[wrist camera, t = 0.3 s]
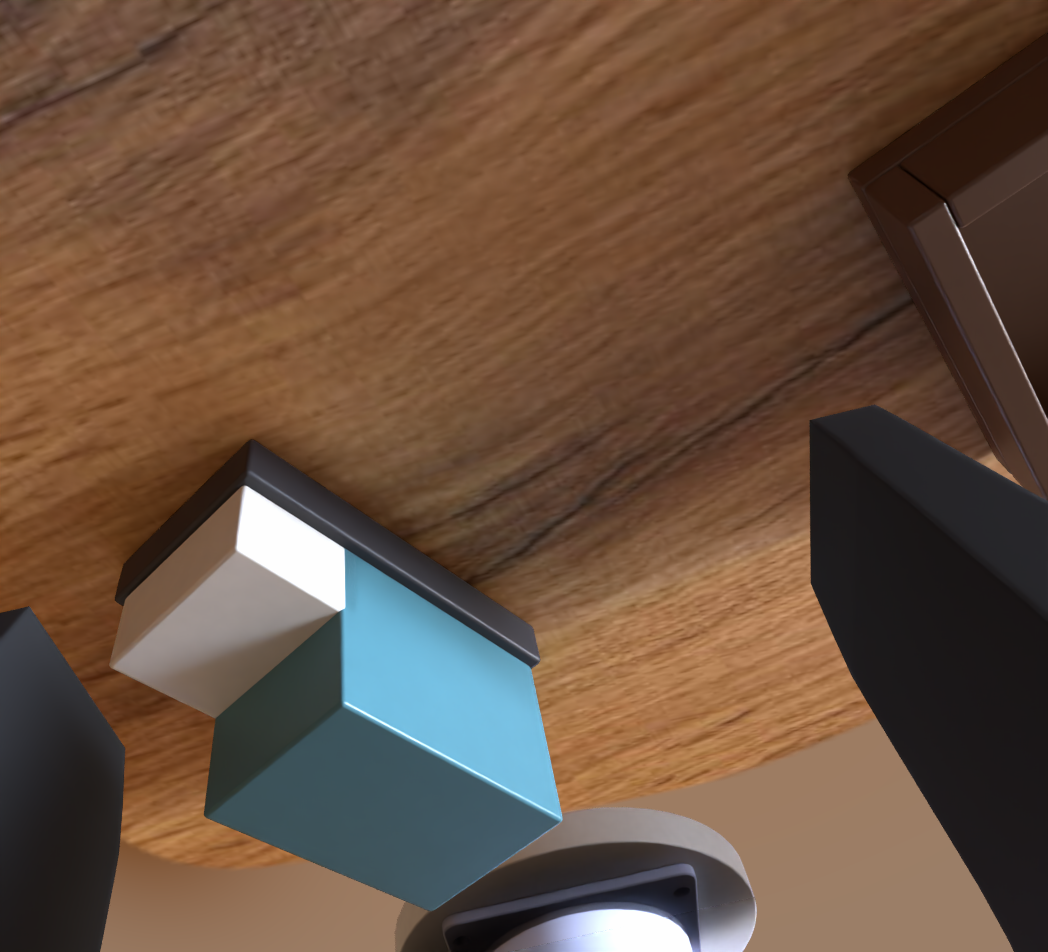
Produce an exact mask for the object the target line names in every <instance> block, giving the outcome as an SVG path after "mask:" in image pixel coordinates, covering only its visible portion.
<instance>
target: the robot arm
mask: <svg viewBox="0 0 1048 952" xmlns="http://www.w3.org/2000/svg"><path fill="white" fill-rule="evenodd" d="M810 546H811V585H812V587H813V590H814V592H815V594H816V597H817V599H818V601H819V604H820V606H821V608H822V610H823V613H824V615H825V617H826V620H827V622H828V624H829V627H830V629H831V631H832V634H833V636H834V638H835V640H836V642H837V645H838V647H839V649H840V651H841V653H842V656H843V658H844V660H845V662H846V664H847V667H848V669H849V671H850V673H851V675H852V677H853V679H854V680H855V682H856V684H857V686H858V687H859V689H860V691H861V692H862V694H863V696H864V698H865V699H866V701H867V703H868V704H869V706H870V708H871V709H872V711H873V713H874V714H875V716H876V718H877V719H878V721H879V723H880V724H881V726H882V727H883V729H884V731H885V733H886V734H887V736H888V738H889V739H890V741H891V742H892V744H893V746H894V748H895V749H896V751H897V752H898V754H899V756H900V757H901V759H902V761H903V762H904V764H905V766H906V767H907V769H908V771H909V772H910V774H911V776H912V777H913V779H914V780H915V782H916V784H917V786H918V787H919V789H920V790H921V792H922V794H923V795H924V797H925V799H926V800H927V802H928V804H929V805H930V807H931V809H932V810H933V812H934V813H935V815H936V817H937V818H938V820H939V821H940V823H941V825H942V827H943V828H944V830H945V831H946V833H947V835H948V837H949V838H950V840H951V841H952V843H953V845H954V846H955V848H956V850H957V851H958V853H959V854H960V856H961V858H962V859H963V861H964V863H965V865H966V866H967V868H968V869H969V871H970V873H971V874H972V876H973V878H974V879H975V881H976V883H977V884H978V886H979V888H980V890H981V891H982V893H983V895H984V897H985V898H986V900H987V902H988V904H989V906H990V908H991V909H992V911H993V913H994V915H995V917H996V918H997V920H998V922H999V924H1000V926H1001V927H1002V929H1003V931H1004V933H1005V935H1006V936H1007V938H1008V940H1009V942H1010V944H1011V947H1012V949H1013V951H1014V952H1048V501H1047V500H1045V499H1043V498H1041V497H1039V496H1038V495H1036V494H1034V493H1032V492H1030V491H1029V490H1027V489H1025V488H1023V487H1021V486H1020V485H1018V484H1016V483H1014V482H1012V481H1011V480H1009V479H1007V478H1005V477H1003V476H1002V475H1000V474H998V473H996V472H995V471H993V470H991V469H989V468H987V467H986V466H984V465H982V464H980V463H979V462H977V461H975V460H973V459H972V458H970V457H968V456H966V455H965V454H963V453H961V452H959V451H957V450H956V449H954V448H952V447H951V446H949V445H947V444H945V443H944V442H942V441H940V440H938V439H937V438H935V437H933V436H931V435H930V434H928V433H926V432H924V431H923V430H921V429H919V428H917V427H915V426H914V425H912V424H910V423H908V422H907V421H905V420H903V419H901V418H899V417H898V416H896V415H894V414H892V413H890V412H888V411H886V410H884V409H883V408H881V407H879V406H877V405H871V406H867V407H863V408H859V409H855V410H850V411H846V412H842V413H838V414H834V415H829V416H825V417H821V418H817V419H813V420H810ZM124 765H125V747H124V746H123V744H122V743H121V741H120V740H119V738H118V737H117V735H116V734H115V732H114V731H113V729H112V728H111V726H110V725H109V723H108V722H107V720H106V719H105V718H104V716H103V715H102V713H101V712H100V710H99V709H98V707H97V706H96V704H95V703H94V701H93V700H92V698H91V697H90V695H89V694H88V692H87V691H86V689H85V688H84V686H83V685H82V684H81V682H80V681H79V679H78V678H77V676H76V675H75V673H74V672H73V670H72V669H71V667H70V666H69V664H68V663H67V661H66V660H65V658H64V657H63V655H62V654H61V652H60V651H59V649H58V648H57V647H56V645H55V644H54V642H53V641H52V639H51V638H50V636H49V635H48V633H47V632H46V630H45V629H44V627H43V626H42V624H41V623H40V621H39V620H38V618H37V617H36V615H35V614H34V613H33V611H32V610H31V608H30V607H29V606H28V607H24V608H20V609H16V610H11V611H7V612H3V613H0V952H100V949H101V944H102V939H103V934H104V929H105V924H106V919H107V914H108V909H109V904H110V898H111V893H112V888H113V883H114V877H115V872H116V866H117V861H118V855H119V847H120V834H121V821H122V809H123V789H124ZM442 929H443V936H444V939H445V941H446V944H447V947H448V950H449V952H701V940H700V925H699V909H698V894H697V878H696V875H695V872H694V869H693V867H692V866H690V865H689V864H684V863H680V864H674V865H669V866H665V867H660V868H656V869H651V870H647V871H642V872H638V873H633V874H629V875H624V876H620V877H615V878H611V879H606V880H602V881H597V882H593V883H588V884H584V885H579V886H575V887H570V888H566V889H561V890H557V891H552V892H547V893H543V894H538V895H534V896H529V897H525V898H520V899H516V900H511V901H507V902H502V903H498V904H493V905H489V906H484V907H480V908H475V909H471V910H466V911H462V912H457V913H454V914H451V915H449V916H447V917H446V918H445V919H444V920H443V922H442Z"/></svg>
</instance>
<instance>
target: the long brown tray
mask: <svg viewBox="0 0 1048 952" xmlns="http://www.w3.org/2000/svg"><path fill="white" fill-rule="evenodd" d="M848 179H849V181H850V183H851V185H852V187H853V189H854V191H855V192H856V194H857V196H858V198H859V200H860V202H861V204H862V206H863V208H864V209H865V211H866V213H867V215H868V217H869V219H870V221H871V223H872V225H873V226H874V228H875V230H876V232H877V234H878V236H879V238H880V240H881V242H882V243H883V245H884V247H885V249H886V251H887V253H888V255H889V257H890V259H891V260H892V262H893V264H894V266H895V268H896V270H897V272H898V274H899V276H900V277H901V279H902V281H903V283H904V285H905V287H906V289H907V291H908V293H909V294H910V296H911V298H912V300H913V302H914V304H915V306H916V308H917V310H918V311H919V313H920V315H921V317H922V319H923V321H924V323H925V325H926V327H927V328H928V330H929V332H930V334H931V336H932V338H933V340H934V342H935V344H936V345H937V347H938V349H939V351H940V353H941V355H942V357H943V359H944V361H945V362H946V364H947V366H948V368H949V370H950V372H951V374H952V376H953V377H954V379H955V381H956V383H957V385H958V387H959V389H960V391H961V393H962V394H963V396H964V398H965V400H966V402H967V404H968V406H969V408H970V410H971V411H972V413H973V415H974V417H975V419H976V421H977V423H978V425H979V427H980V428H981V430H982V432H983V434H984V436H985V438H986V440H987V442H988V444H989V445H990V447H991V449H992V451H993V453H994V455H995V457H996V459H997V460H998V461H999V462H1000V463H1001V464H1002V465H1003V466H1004V467H1005V468H1006V470H1007V471H1008V472H1009V473H1011V474H1012V475H1013V477H1014V478H1015V479H1016V480H1017V481H1018V482H1019V483H1020V485H1021V486H1022V487H1023V488H1025V489H1027V490H1029V491H1030V492H1032V493H1034V494H1036V495H1038V496H1039V497H1041V498H1043V499H1045V500H1047V501H1048V33H1046V34H1045V35H1044V36H1042V37H1041V38H1039V39H1038V40H1036V41H1035V42H1034V43H1032V44H1031V45H1029V46H1028V47H1027V48H1025V49H1024V50H1022V51H1021V52H1019V53H1018V54H1017V55H1015V56H1014V57H1012V58H1011V59H1010V60H1008V61H1007V62H1005V63H1004V64H1003V65H1001V66H1000V67H998V68H997V69H995V70H994V71H993V72H991V73H990V74H988V75H987V76H986V77H984V78H983V79H981V80H980V81H978V82H977V83H976V84H974V85H973V86H971V87H970V88H969V89H967V90H966V91H964V92H963V93H962V94H960V95H959V96H957V97H956V98H954V99H953V100H952V101H950V102H949V103H947V104H946V105H945V106H943V107H942V108H940V109H939V110H938V111H936V112H935V113H933V114H932V115H930V116H929V117H928V118H926V119H925V120H923V121H922V122H921V123H919V124H918V125H916V126H915V127H913V128H912V129H911V130H909V131H908V132H906V133H905V134H904V135H902V136H901V137H899V138H898V139H897V140H895V141H894V142H892V143H891V144H889V145H888V146H887V147H885V148H884V149H882V150H881V151H880V152H878V153H877V154H875V155H874V156H872V157H871V158H870V159H868V160H867V161H865V162H864V163H863V164H861V165H860V166H858V167H857V168H856V169H854V170H853V171H851V172H850V173H849V174H848Z"/></svg>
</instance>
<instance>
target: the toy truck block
mask: <svg viewBox="0 0 1048 952" xmlns="http://www.w3.org/2000/svg"><path fill="white" fill-rule="evenodd" d="M115 601H116V602H117V603H119V604H120V605H122V606H124V607H123V611H122V615H121V619H120V623H119V627H118V631H117V635H116V639H115V644H114V648H113V652H112V656H111V660H110V664H109V665H110V667H111V668H112V669H114V670H116V671H118V672H120V673H122V674H124V675H126V676H128V677H130V678H133V679H135V680H137V681H139V682H141V683H143V684H145V685H147V686H149V687H151V688H153V689H155V690H157V691H159V692H162V693H164V694H166V695H168V696H170V697H172V698H174V699H176V700H178V701H180V702H182V703H184V704H186V705H188V706H191V707H193V708H195V709H197V710H199V711H201V712H203V713H205V714H207V715H209V716H211V717H213V718H215V727H214V735H213V744H212V752H211V760H210V768H209V776H208V784H207V793H206V801H205V809H204V816H205V817H206V818H208V819H210V820H213V821H215V822H217V823H220V824H222V825H225V826H227V827H229V828H232V829H234V830H237V831H239V832H241V833H244V834H246V835H249V836H251V837H253V838H256V839H258V840H260V841H263V842H265V843H268V844H270V845H272V846H275V847H277V848H280V849H282V850H284V851H287V852H289V853H291V854H294V855H296V856H299V857H301V858H303V859H306V860H308V861H311V862H313V863H315V864H318V865H320V866H323V867H325V868H327V869H330V870H332V871H334V872H337V873H339V874H342V875H344V876H347V877H349V878H351V879H354V880H356V881H358V882H361V883H363V884H366V885H368V886H370V887H373V888H375V889H377V890H380V891H383V892H385V893H387V894H389V895H392V896H394V897H397V898H399V899H401V900H404V901H406V902H408V903H411V904H413V905H416V906H418V907H420V908H423V909H425V910H428V911H433V910H435V909H436V908H438V907H439V906H441V905H442V904H444V903H445V902H446V901H448V900H449V899H451V898H452V897H454V896H455V895H457V894H458V893H459V892H461V891H462V890H464V889H465V888H467V887H468V886H470V885H471V884H472V883H474V882H475V881H477V880H478V879H480V878H481V877H483V876H484V875H486V874H487V873H488V872H490V871H491V870H493V869H494V868H496V867H497V866H499V865H500V864H501V863H503V862H504V861H506V860H507V859H509V858H510V857H512V856H513V855H514V854H516V853H517V852H519V851H520V850H522V849H523V848H525V847H526V846H528V845H529V844H530V843H532V842H533V841H535V840H536V839H538V838H539V837H541V836H542V835H543V834H545V833H546V832H548V831H549V830H551V829H552V828H554V827H555V826H556V825H558V824H559V823H561V822H562V819H563V818H562V813H561V808H560V804H559V799H558V794H557V790H556V785H555V780H554V775H553V771H552V766H551V761H550V756H549V752H548V747H547V742H546V738H545V733H544V728H543V723H542V719H541V714H540V709H539V705H538V700H537V695H536V690H535V686H534V681H533V676H532V672H531V669H532V668H533V667H535V666H536V665H537V664H538V663H539V662H540V656H539V652H538V647H537V643H536V638H535V634H534V629H533V628H532V626H530V625H529V624H527V623H526V622H524V621H523V620H521V619H520V618H519V617H517V616H516V615H514V614H513V613H511V612H510V611H508V610H507V609H505V608H504V607H502V606H501V605H499V604H498V603H496V602H495V601H493V600H492V599H490V598H489V597H487V596H486V595H484V594H483V593H481V592H480V591H478V590H477V589H475V588H474V587H472V586H471V585H469V584H468V583H466V582H465V581H463V580H462V579H460V578H459V577H457V576H456V575H454V574H453V573H451V572H450V571H448V570H447V569H445V568H444V567H442V566H441V565H440V564H438V563H437V562H435V561H434V560H432V559H431V558H429V557H428V556H426V555H425V554H423V553H422V552H420V551H419V550H417V549H416V548H414V547H413V546H411V545H410V544H408V543H407V542H405V541H404V540H402V539H401V538H399V537H398V536H396V535H395V534H393V533H392V532H390V531H389V530H387V529H386V528H384V527H383V526H381V525H380V524H378V523H377V522H375V521H374V520H372V519H371V518H369V517H368V516H366V515H365V514H363V513H362V512H361V511H359V510H358V509H356V508H355V507H353V506H352V505H350V504H349V503H347V502H346V501H344V500H343V499H341V498H340V497H338V496H337V495H335V494H334V493H332V492H331V491H329V490H328V489H326V488H325V487H323V486H322V485H320V484H319V483H317V482H316V481H314V480H313V479H311V478H310V477H308V476H307V475H305V474H304V473H302V472H301V471H299V470H298V469H296V468H295V467H293V466H292V465H290V464H289V463H287V462H286V461H284V460H283V459H282V458H280V457H279V456H277V455H276V454H274V453H273V452H271V451H270V450H268V449H267V448H265V447H264V446H262V445H261V444H259V443H258V442H256V441H255V440H252V439H251V440H249V441H248V442H246V443H245V444H244V445H243V446H242V447H241V448H240V449H239V450H238V451H237V452H236V453H235V454H234V455H233V456H232V457H231V458H230V459H229V460H228V461H227V462H226V463H225V464H224V465H223V466H222V467H221V468H220V469H219V470H218V471H217V472H216V473H215V474H214V475H213V476H212V477H211V478H210V479H209V480H208V481H207V482H206V483H205V484H204V485H203V486H202V487H201V488H200V489H199V490H198V491H197V492H196V493H195V494H194V495H193V496H192V497H191V498H190V499H189V500H188V501H187V502H186V503H185V504H184V505H183V506H182V507H181V508H180V509H179V510H178V511H177V512H176V513H175V514H174V515H173V516H172V517H171V518H170V519H168V520H167V521H166V522H165V523H164V524H163V525H162V526H161V527H160V528H159V529H158V530H157V531H156V532H155V533H154V534H153V535H152V536H151V537H150V538H149V539H148V540H147V541H146V542H145V543H144V544H143V545H142V546H141V547H140V548H139V549H138V550H137V551H136V552H135V553H134V554H133V555H132V556H131V557H130V558H129V559H128V560H127V561H126V562H125V563H124V564H123V568H122V572H121V575H120V579H119V583H118V587H117V591H116V595H115Z"/></svg>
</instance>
